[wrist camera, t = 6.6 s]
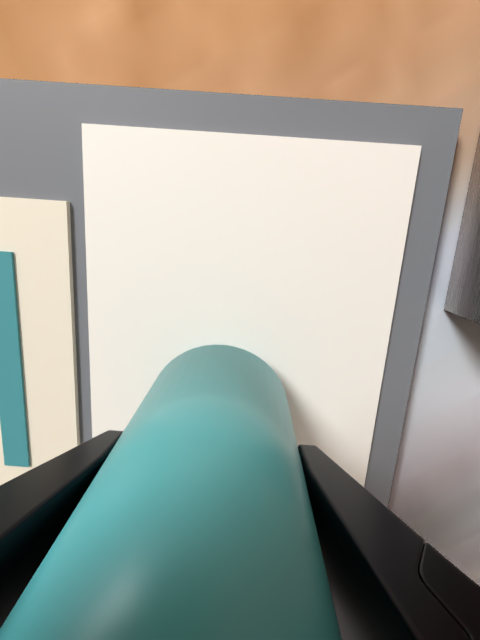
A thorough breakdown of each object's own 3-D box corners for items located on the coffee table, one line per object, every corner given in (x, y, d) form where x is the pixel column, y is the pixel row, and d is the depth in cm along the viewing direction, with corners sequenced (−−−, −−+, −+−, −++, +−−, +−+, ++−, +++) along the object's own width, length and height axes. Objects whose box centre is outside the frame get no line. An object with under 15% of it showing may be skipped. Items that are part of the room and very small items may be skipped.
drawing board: (360, 593, 14) (370, 622, 13) (-44, 564, 14) (-67, 591, 13) (446, 118, 10) (470, 104, 9) (-114, 81, 10) (-155, 64, 9)
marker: (282, 477, 11) (415, 1437, 2) (147, 466, 11) (-240, 1372, 2) (296, 348, 10) (629, 1155, 1) (148, 337, 10) (-524, 1055, 1)
